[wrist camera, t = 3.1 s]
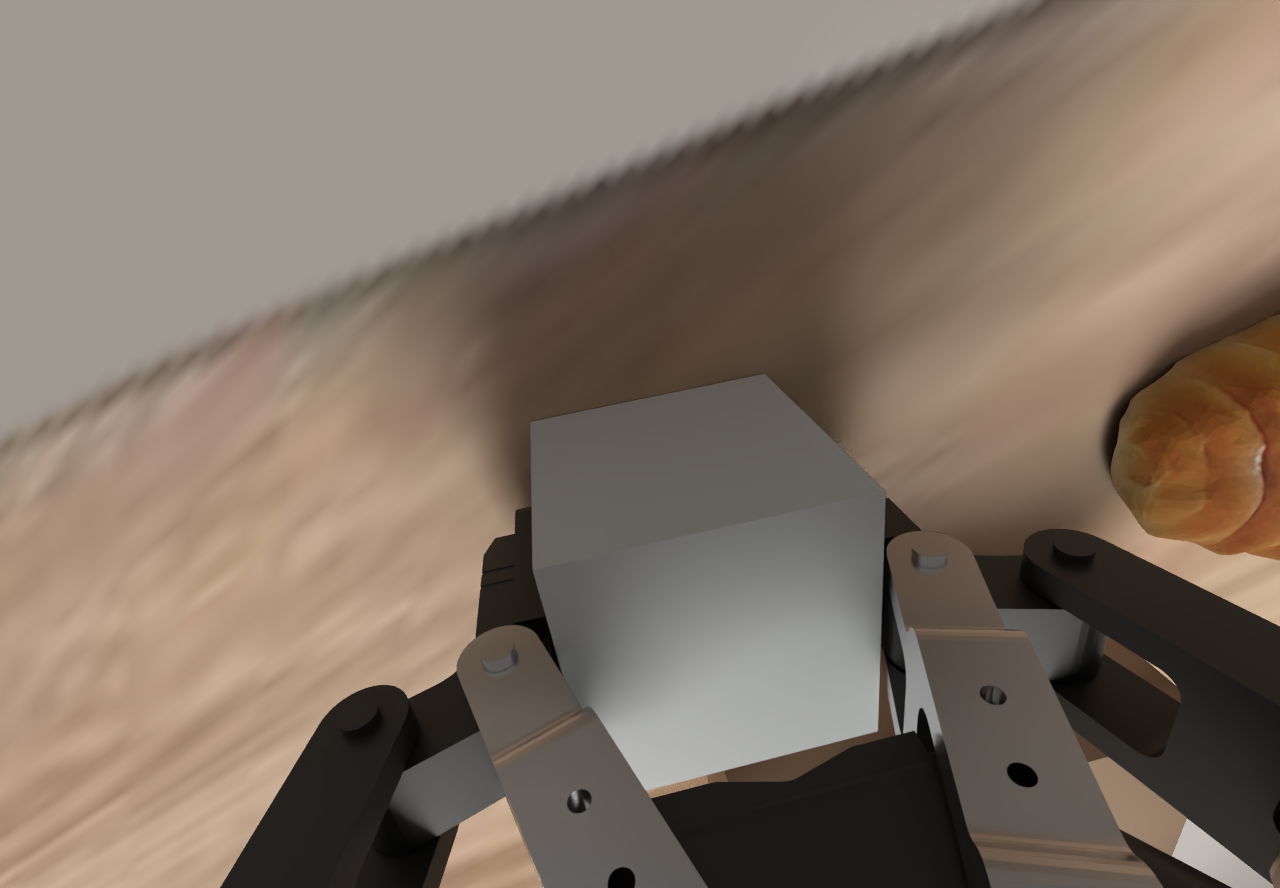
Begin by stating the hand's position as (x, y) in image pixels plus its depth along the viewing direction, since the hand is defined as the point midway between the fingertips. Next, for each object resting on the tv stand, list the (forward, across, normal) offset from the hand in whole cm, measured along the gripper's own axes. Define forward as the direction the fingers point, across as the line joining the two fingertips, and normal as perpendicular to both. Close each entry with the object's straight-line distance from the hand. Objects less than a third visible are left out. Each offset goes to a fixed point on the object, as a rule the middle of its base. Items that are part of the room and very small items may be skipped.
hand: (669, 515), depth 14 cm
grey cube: (+1, 0, 0) cm, 1 cm away
